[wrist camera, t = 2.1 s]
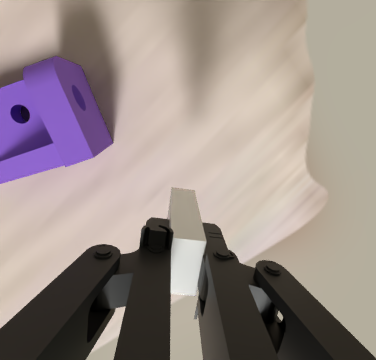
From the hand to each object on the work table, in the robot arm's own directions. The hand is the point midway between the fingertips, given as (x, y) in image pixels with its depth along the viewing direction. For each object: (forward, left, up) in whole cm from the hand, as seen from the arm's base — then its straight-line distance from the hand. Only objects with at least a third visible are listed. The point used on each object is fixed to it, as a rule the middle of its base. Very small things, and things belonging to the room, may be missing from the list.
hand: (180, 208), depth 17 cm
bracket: (-13, +3, -9) cm, 16 cm away
